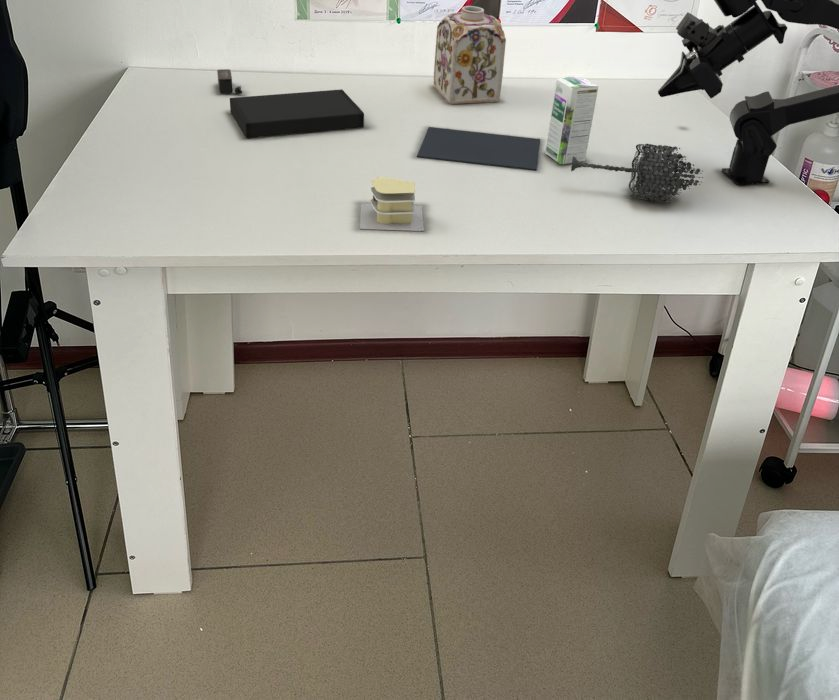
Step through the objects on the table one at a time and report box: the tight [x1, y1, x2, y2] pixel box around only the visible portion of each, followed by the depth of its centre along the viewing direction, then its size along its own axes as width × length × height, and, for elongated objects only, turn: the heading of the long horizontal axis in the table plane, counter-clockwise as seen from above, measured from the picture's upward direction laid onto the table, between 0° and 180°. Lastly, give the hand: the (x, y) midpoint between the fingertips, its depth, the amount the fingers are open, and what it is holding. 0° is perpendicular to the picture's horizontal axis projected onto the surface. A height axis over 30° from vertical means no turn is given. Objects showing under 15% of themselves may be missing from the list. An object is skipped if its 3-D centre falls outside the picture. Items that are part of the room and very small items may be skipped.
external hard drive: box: [229, 88, 365, 139], centre depth 177 cm, size 14×23×3 cm, turn 112°
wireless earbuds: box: [216, 68, 243, 95], centre depth 189 cm, size 5×7×3 cm, turn 13°
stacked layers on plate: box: [359, 176, 425, 232], centre depth 144 cm, size 10×9×6 cm
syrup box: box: [544, 75, 599, 165], centre depth 166 cm, size 6×6×14 cm
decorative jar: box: [433, 5, 507, 105], centre depth 191 cm, size 12×12×18 cm
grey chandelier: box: [570, 143, 704, 203], centre depth 155 cm, size 9×22×9 cm, turn 81°
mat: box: [416, 126, 541, 172], centre depth 171 cm, size 22×15×1 cm
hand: (659, 94), depth 160 cm, fingers closed
